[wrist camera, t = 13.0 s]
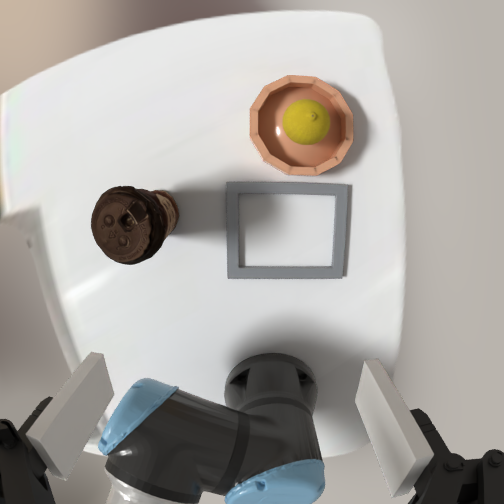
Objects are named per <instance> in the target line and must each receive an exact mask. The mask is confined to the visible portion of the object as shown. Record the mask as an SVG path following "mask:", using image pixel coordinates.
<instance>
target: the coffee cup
mask: <svg viewBox="0 0 504 504" xmlns="http://www.w3.org/2000/svg"><path fill="white" fill-rule="evenodd" d="M178 218H179V212H178V207H177V204H176V202H175V201H174V199H173V197H172V196H170V195H169V194H168V193H167V192H165V191H158V190H154V191H148V190H144V189H135V188H134V187H132V186H123V187H121V186H119V187H114V188H111V189H109V190H107V191H106V192H105V193H103V194H102V195H101V197H100V198H99V200H98V201H97V203H96V205H95V208H94V211H93V213H92V218H91V229H92V233H93V236H94V239H95V241H96V243H97V245H98V246H99V247H100V248H101V249H102V251H103V252H104V253H105V255H106V256H107V257H109V258H110V259H112V260H114V261H116V262H118V263H121V264H127V265H133V264H137V263H140V262H142V261H144V260H146V259H149V258H151V257H152V256H153V255H154V254H155V253H156V252H157V251H158V250H159V249H160V248H161V246H162V244H163V242H164V240H165V239H166V237H167V236H168V235H169V234H170V232H172V231H173V229H174V228H175V227H176V224H177V221H178Z"/></svg>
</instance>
